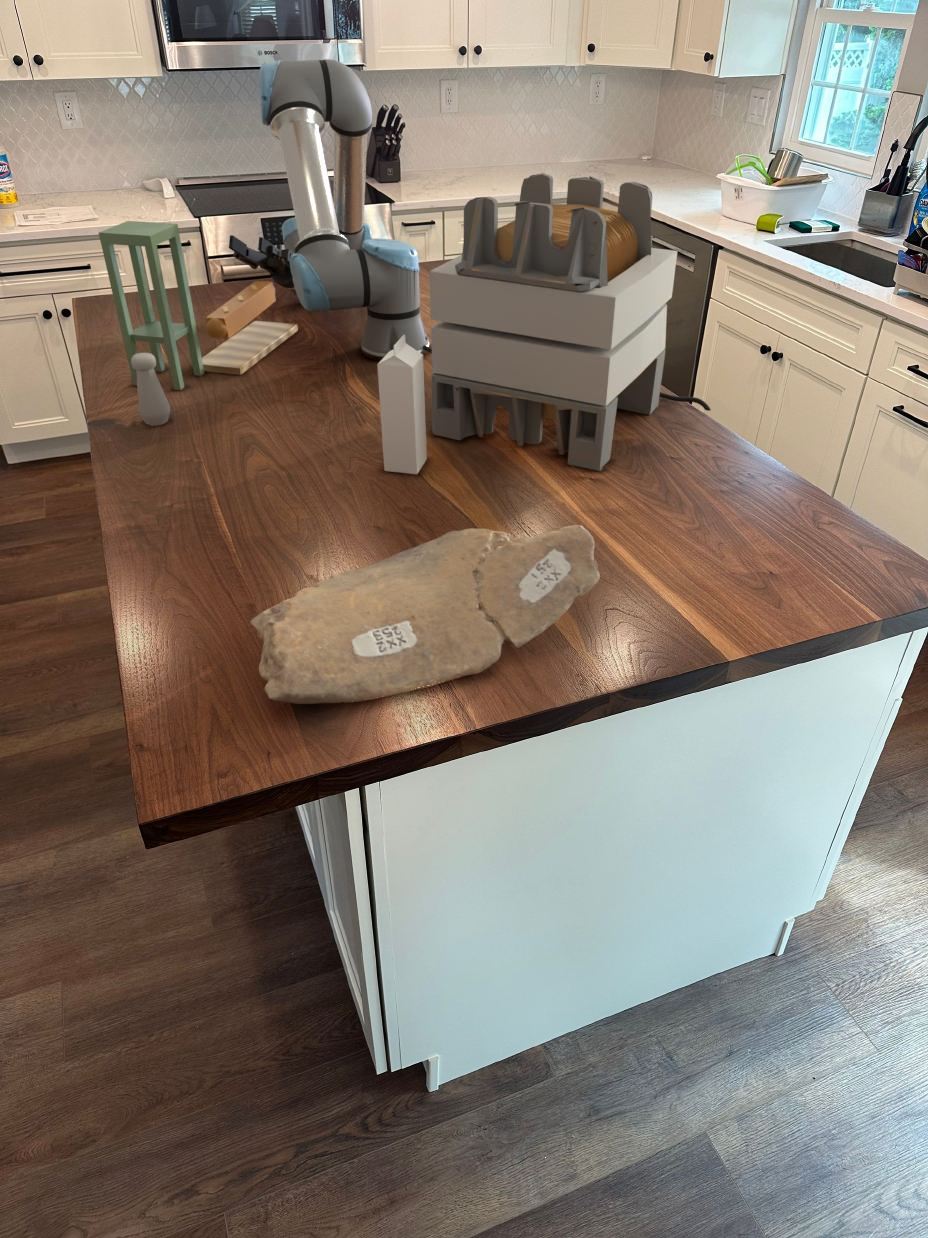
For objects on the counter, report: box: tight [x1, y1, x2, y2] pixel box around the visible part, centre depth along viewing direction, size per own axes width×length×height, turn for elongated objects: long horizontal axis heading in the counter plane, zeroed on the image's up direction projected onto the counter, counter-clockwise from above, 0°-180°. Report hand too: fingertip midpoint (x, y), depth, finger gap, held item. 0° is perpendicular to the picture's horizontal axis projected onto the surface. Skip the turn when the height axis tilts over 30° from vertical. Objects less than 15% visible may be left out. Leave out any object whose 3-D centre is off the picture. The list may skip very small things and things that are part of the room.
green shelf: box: [98, 220, 205, 391], centre depth 181 cm, size 10×11×30 cm
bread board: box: [201, 320, 299, 376], centre depth 204 cm, size 30×11×2 cm, turn 165°
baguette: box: [205, 280, 277, 340], centre depth 199 cm, size 28×4×5 cm, turn 164°
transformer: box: [429, 172, 678, 472], centre depth 159 cm, size 34×33×41 cm
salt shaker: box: [131, 352, 171, 427], centre depth 168 cm, size 6×6×13 cm
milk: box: [376, 335, 428, 475], centre depth 150 cm, size 6×6×22 cm
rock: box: [250, 524, 601, 705], centre depth 115 cm, size 45×11×26 cm
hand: (245, 242), depth 196 cm, fingers open, 6 cm apart
